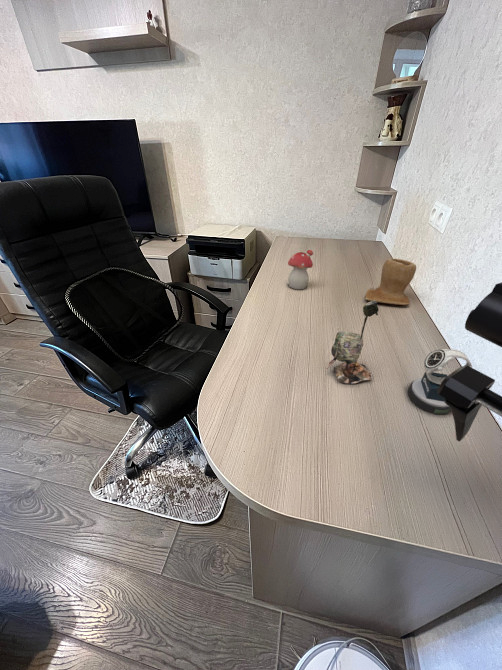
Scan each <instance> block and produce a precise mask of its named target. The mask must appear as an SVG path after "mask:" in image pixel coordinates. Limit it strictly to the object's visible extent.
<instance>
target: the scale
mask: <svg viewBox="0 0 502 670" xmlns="http://www.w3.org/2000/svg"><path fill="white" fill-rule="evenodd" d="M422 378H423V377H419V378H416V379H414V380H412V382H410V385H409V387H408V389H407V397H408V399H409V400H410V402H411V403H412V404H413V405H415V406H416V407H417V408H418V409H420V410H422V411H423V412H426V413H428V414H433V415H441V416H442V415H447V414H449V413H450V412H452V411H451V408H450V407H449V406H448V405H447V404H446V403H445V402H443V401H437V400H432V399H426V396H425V393H424V390H423V386H422V383H421V380H422Z"/></svg>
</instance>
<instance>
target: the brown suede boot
mask: <svg viewBox="0 0 502 670" xmlns="http://www.w3.org/2000/svg"><path fill="white" fill-rule="evenodd" d="M416 271H417V265H416V264H415V263H414V262H412V261H408V260H407V259H403V258H402V259H401V258H394V257H393V258H392V257H391V258H390V257H389V258H387V259H386V260H385V262H384V264H383V265H382V268H381V276H380V284H379V286H378V287H376V288H368V289H367V291H366V293H365V298H364V300H365V301H368V302H371V301H373V300H375V301H376V302H377V303H381V304H388V305H397V306H398V305H399V306H407V305H409V304H410V299H409V297H408V296H407V295H406V294H405V291H406V289H407V287H408V286H409V285H410V284H411V282H412V281H413V279H414V277H415V274H416Z"/></svg>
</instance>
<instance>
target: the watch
mask: <svg viewBox="0 0 502 670" xmlns="http://www.w3.org/2000/svg"><path fill="white" fill-rule="evenodd" d="M455 358H456V359H462V360H464V361H465V362H466V363H465V364H464V365H463V366H467V365H468V366H469V367H471V368H473V365H472V363H471V361H470V359H469V357H468V356H467V354H466V353H464V352H463V351H461V350H458V349H452V348H444V349H442V348H438V349H437V348H436V349H434V350H432V351H431V352H429V354H427V356H426V357H425V359H424V362H423V369H424V373H423V374H422V375H423V376H422V377H421V378H422V380H421V383H422V386H423V390H424V393H425V396H426V399H432V400H437V401H443V402H445V398H443V397H442V396H440V395H439V394H438V392H437V389H438V388H439V386H440V384H441V382H442V381H443V380H444V379H445V377H447V376H448V374H446V373H440V372H442V371H444V369H445V368H446V367H447V366H448V364H449V363H450V362H452V361H453V360H455Z"/></svg>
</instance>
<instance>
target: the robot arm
mask: <svg viewBox="0 0 502 670" xmlns="http://www.w3.org/2000/svg"><path fill="white" fill-rule="evenodd" d="M464 329H465V330H466V331H468V332H470V333H471V334H474V335H476V336H478V337H479V338H481V339H484V340H486V341H488V342H490V343H492V344H493V345H496V346H498V347H500V348H502V282H501V281H500V282H499V283H495V285H494V287H493V288H492V290H491V291H490V292H489V293H488V294H487V295H486V296H484V297H483V299H482V300H481V301H480V302H479V303H478V304H477V305H476V306H475V308H474V309H472V310H471V311H470V312H469V314H468V315H467V317H466V320H465V323H464ZM495 382H496V379H495V378H492V377H491V376H488V375H487V374H485V373H483V372H481V371H479V370H477V369H475V368H473V367H472V368H471V367H469V366H468V365H467V366H464V365H461V366H459V367H458V368H457V369H455V370H454V371H452V372H451V373H450V374H447V377H445V379H444V380H443V381H442V382H441V384H440V386H439V388H438V389H437V392H438V394H439V395H440V396H442V397H443V398H445V403H446V404H447V405H448V406H449V407H450V408H451V411H450V412H451V415H452V418H453V422H454V429H455V438H456V439H455V440H456V441H457V442H458V443H460V442H461V441H462V440H463V439H464V438H465V436H467V434H468V433H469V431H470V429H471V427H472V425H473V423H474V421H475V419H476V418H477V415H478V413H479V411H480V409H481V408H482V406H483V407H484V408H486V409H488V410H489V411H490V412H492V413H495V414H496V415H497V416H499V417H501V418H502V395H500V394H499V393H496V392H495V391H493V390H492V389H491V388H492V387H493V385H494V384H495Z"/></svg>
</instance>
